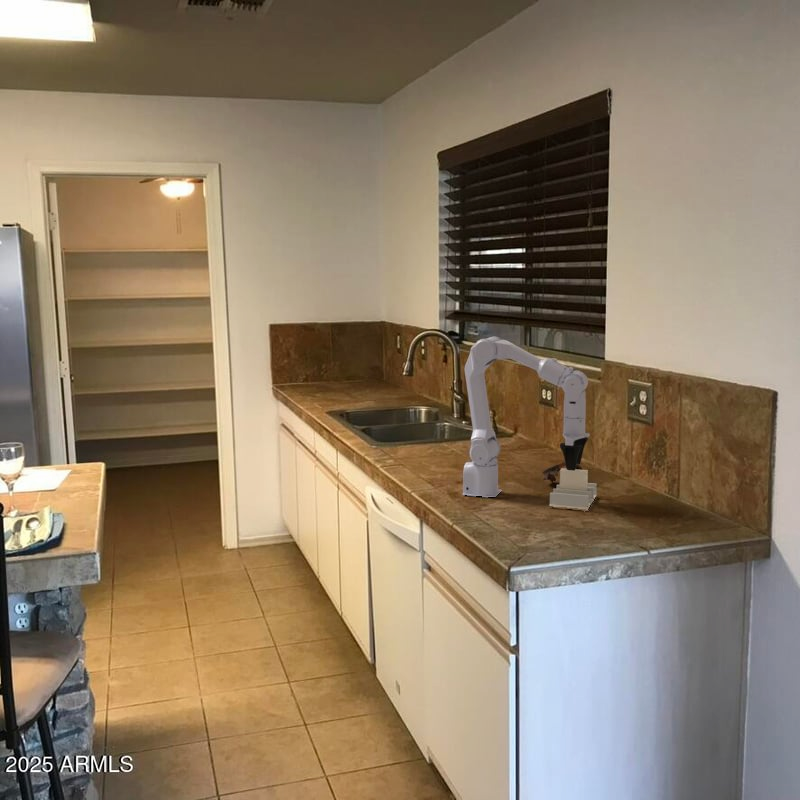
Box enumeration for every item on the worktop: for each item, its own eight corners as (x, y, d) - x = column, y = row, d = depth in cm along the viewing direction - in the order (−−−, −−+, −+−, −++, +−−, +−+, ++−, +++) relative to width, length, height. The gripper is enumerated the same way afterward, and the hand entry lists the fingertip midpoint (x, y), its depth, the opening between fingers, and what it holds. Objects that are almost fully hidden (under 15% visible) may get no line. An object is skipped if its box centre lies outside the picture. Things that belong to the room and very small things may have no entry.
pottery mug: (560, 494, 245) (547, 468, 246) (546, 501, 253) (534, 475, 255) (594, 478, 249) (581, 453, 251) (579, 486, 258) (566, 461, 259)
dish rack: (549, 508, 229) (549, 493, 228) (560, 494, 242) (560, 480, 242) (587, 511, 225) (587, 496, 224) (596, 497, 239) (596, 483, 238)
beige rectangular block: (559, 499, 234) (560, 470, 233) (561, 497, 236) (561, 468, 235) (585, 501, 231) (586, 472, 230) (587, 499, 233) (587, 470, 232)
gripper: (585, 422, 222) (584, 474, 224) (594, 413, 236) (593, 462, 238) (557, 420, 225) (556, 472, 227) (568, 412, 238) (567, 460, 240)
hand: (573, 466), depth 232 cm, fingers open, 7 cm apart
